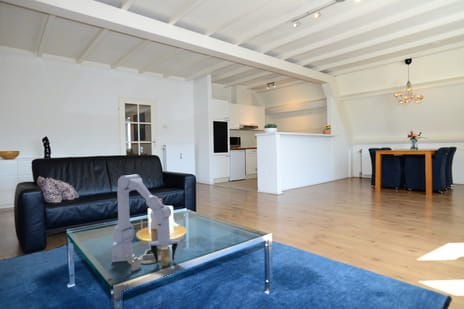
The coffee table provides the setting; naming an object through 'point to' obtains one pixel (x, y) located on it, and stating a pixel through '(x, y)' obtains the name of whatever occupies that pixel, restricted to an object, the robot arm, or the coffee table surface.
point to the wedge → (164, 256)
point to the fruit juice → (155, 230)
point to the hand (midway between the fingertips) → (165, 260)
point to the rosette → (149, 257)
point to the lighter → (134, 262)
